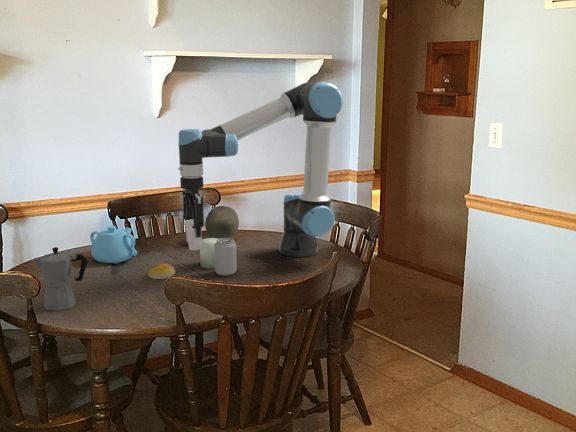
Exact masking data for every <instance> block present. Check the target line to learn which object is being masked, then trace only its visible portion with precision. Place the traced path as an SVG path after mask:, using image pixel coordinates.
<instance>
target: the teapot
mask: <svg viewBox="0 0 576 432" xmlns="http://www.w3.org/2000/svg"><path fill="white" fill-rule="evenodd" d="M95 234H96V237H95ZM89 236H90V241H91V245H90V246H89V250H90V251H91V254H90V255H91V257H93V259H94V260H95V261H97V262H99V263H102V264H103V263H104V264H114V265H118V264H120V263H122V262H126V261H129V260H130V259H132V257H136V256H137V255H138V251H137V250H136V249H135V245H136V238H135V236H134V235H132V228H130V227H125V228H124V229H122V228H117V226H116V225H109V226H107V229H104V230H101V231H98V230H95V231H92V232H91V233H90V235H89Z"/></svg>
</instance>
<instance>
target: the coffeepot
mask: <svg viewBox="0 0 576 432" xmlns="http://www.w3.org/2000/svg"><path fill="white" fill-rule="evenodd" d="M51 249H52V253H48V254H44V255H42V256H39V257H38V256H37V257H35V258H33V259H32V262H34V263H35V265H37V267H38V268H39V270H40V271H41V272H42V276H43V279H44V282H45V286H44V295H43V308H44V309H45V310H47V311H51V312H60V311H66V310H68V309H71V308H73V307H74V306H75V305H77V303H76V298H75V295H74V294H75V293H74V291H73V286H72V284H71V281H70V280H71V278H72V269H73V268H72V267H73V262H76V261H81V263H80V270H79V272H78V277H74V281H75V282H81V281H83V279H84V275H85V273H86V268H87V266H88V262H89V261H88V260H89V259H88V258H87V257H86V256H85V255H84V254H83V253H79V254H78V253H75V254H74V253H73V254H71V253H69V252H68V253H66V252H59V247H52V248H51Z"/></svg>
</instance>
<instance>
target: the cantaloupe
mask: <svg viewBox="0 0 576 432" xmlns="http://www.w3.org/2000/svg"><path fill="white" fill-rule="evenodd" d="M239 226H240V220H239V216H238V212H236V210H235V209H234V208H232V207H231V206H227V205H219V206H215V207H214V208H212V209H211V210H210V211H209V212H208V213H207V215H206V218H205V220H204V227H205V230H206V233H207V235H208V238H218V239H220V238H231V239H233V238H234V237H235V236H236V235H237V233H238V230H239Z"/></svg>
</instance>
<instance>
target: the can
mask: <svg viewBox="0 0 576 432" xmlns="http://www.w3.org/2000/svg"><path fill="white" fill-rule="evenodd" d="M214 257H215V268H214V272H215V273H216V275H219V276H224V277H226V276H227V277H229V276H233V275H234V274H235V273H236V272H237V244H236V242H235V239H233V238H220V239H217V240H216V243H215V244H214Z"/></svg>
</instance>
